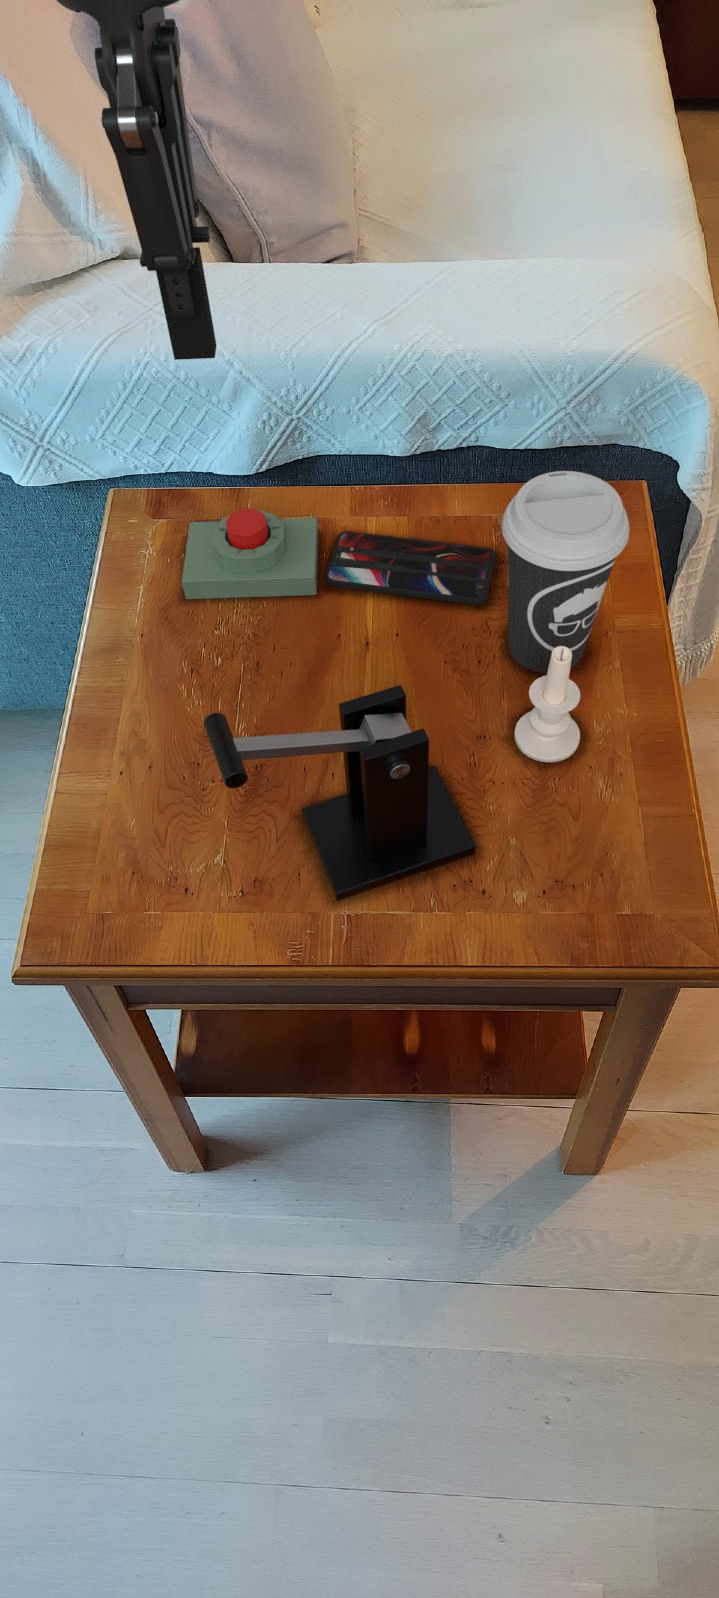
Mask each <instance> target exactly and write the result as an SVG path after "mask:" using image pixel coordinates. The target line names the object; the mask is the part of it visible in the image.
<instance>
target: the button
mask: <svg viewBox="0 0 719 1598" xmlns="http://www.w3.org/2000/svg"><path fill="white" fill-rule="evenodd" d="M258 510H259V509H255V508H241V509H238V510H236V511H234V512H232V513H230V514H229V515H230V516H229V517H228V519H227V521H226V527H227V532H228V538H229V541H230V543H231V544H232V545H233V546H234V547H235V548H238V549H241V550H242V549H255V548H257V547H259V546H262V545H263V544H264V543H265V542H266V541H267V539H268V528H267V522H266V517H265V516H264V514H263V513H262V512H260V511H258Z"/></svg>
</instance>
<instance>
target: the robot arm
mask: <svg viewBox="0 0 719 1598" xmlns="http://www.w3.org/2000/svg"><path fill="white" fill-rule="evenodd" d="M179 1H180V0H56V2H58V4H60V5H61V6H62V7H64V8H65V9H68V10H69V11H73V12H74V13H77V14H78V13H84V14H86V15H88V16H90V17H91V18H93V19H94V20H95V21H96V22H97V24H98V27H99V38H100V44H101V46H100V47H95V48H94V61H95V66H96V71H97V75H98V80H99V84H100V86H101V88H102V89H103V90H104V92H105V93H106V96H107V100H108V104H109V107H103V108H102V111H101V125H102V128H103V129H104V132H105V135H106V137H107V140H108V143H109V144H110V147H111V149H112V151H113V154H114V157H115V160H116V163H117V167H118V171H119V174H120V177H121V181H122V185H123V188H124V191H125V195H126V199H127V203H128V206H129V210H130V213H131V217H132V220H133V223H134V227H135V231H136V235H137V238H138V241H139V244H140V248H141V253H140V257H139V264H140V266H141V267H142V268H146V269H147V271H148V272H155V274H156V279H157V284H158V288H159V292H160V297H161V302H162V306H163V311H164V315H165V321H166V326H167V331H168V336H169V340H170V345H171V349H172V354H173V358H174V359H173V360H174V361H175V360H177V361H178V360H179V361H180V360H201V359H202V360H203V359H215V358H216V352H217V340H216V334H215V329H214V324H213V316H212V312H211V304H210V300H209V299H210V298H209V294H208V288H207V282H206V277H205V276H206V275H205V269H204V264H203V258H202V253H201V248H200V247H199V246H198V247H194V244H203V243H210V242H211V233H210V232H211V231H210V230H211V229H210V226H206V225H205V226H198V225H197V219H196V218H199V215H200V212H201V205H200V201H198V194H197V187H196V180H195V179H196V178H195V172H194V164H193V157H192V149H191V141H190V134H189V125H188V119H187V112H186V103H185V97H184V88H183V87H184V86H183V81H182V73H181V61H180V59H181V51H182V50H181V43H180V38H179V37H180V34H179V27H178V26H177V25H176V24H177V23H176V20H175V18H166V15H165V9H164V8H166V7H168V6H171V5H173V4H176V3H178V2H179Z"/></svg>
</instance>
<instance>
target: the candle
mask: <svg viewBox="0 0 719 1598" xmlns="http://www.w3.org/2000/svg"><path fill="white" fill-rule="evenodd" d="M571 660H572V652H571V651H570V649H569V648H567V647H565V646H558V647H556V648H555V649H554V650H553V651H552V654H551V659H550V663H549V667H548V672H547V673H546V675H542V676H541V677H538V678H536V679H535V680H534V681H533V682H532V683H531V685H530V687H529V690H528V697H529V700H530V702H531V703H532V705H533V706H534V707H533V708H532V710H530V711H528V712H526V713H525V714H523V715H522V716H521V717H519V719H518V721H517V722H516V724H515V727H514V732H513V733H514V741H515V743H516V746H517V748H518V749H519V750H520V752H521V753H522V754H524V755H525V756H526V757H528V758H531V759H532V760H534V761H537V762H542V763H557V762H562V761H563V760H566V759H567V758H570V757H571V756H572V755H573V754H574V753H575V752H576V751H577V750H578V747H579V744H580V739H581V730H580V728H579V726H578V724H577V722H576V721H575V720H574V719H573V717H571V715H570V713H569V712H570V711H573V710H574V709H575V708H576V707H577V706H578V705H579V703H580V700H581V691H580V688H579V686H578V685H577V684H576V683H575V681H573V680H571V678H570V673H571V668H572V667H571ZM570 667H571V668H570Z"/></svg>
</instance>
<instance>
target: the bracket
mask: <svg viewBox="0 0 719 1598" xmlns="http://www.w3.org/2000/svg"><path fill="white" fill-rule="evenodd" d="M338 710H339V720H340V730H354V729H359V728H360V725H361V723H362V720H363V718H364V716H365V715H375V714H391V713H402V714H403V716H404V718H405V720H406V721H407V694H406V692H405V690H404V688H403V686H402V684H398V685H395V686H391V687H389V688H385V689H382V690H379V691H376V692H372V693H369V694H366V695H363V696H360V697H356V698H353V699H350V700H347V701H343V702H340V703H338ZM342 753H343V765H344V772H345V773H344V775H345V784H346V785H345V786H346V787H345V788H346V793H344V794H342V795H339V796H335V797H333V798H330V799H326V800H323V801H321V802H317V803H313V804H311V805H308V806H305V807H302V808H301V813H302V814H301V815H302V818H303V819H302V820H303V821H304V823H305V824H304V825H305V826H306V828H307V831H308V834H309V836H310V838H311V841H312V843H313V846H314V849H315V851H316V853H317V856H318V858H319V861H320V863H321V867H322V868H323V871H324V873H325V875H326V878H327V881H328V883H329V886H330V888H331V890H332V893H333V896H334V899H335V900H336V902H340V901H342V900H345V899H347V898H350V897H353V896H357V895H359V894H362V893H366V892H367V891H371V890H374V889H377V888H380V887H383V886H386V885H389V884H392V883H394V882H397V881H400V880H404V879H406V878H409V877H412V876H414V875H418V874H420V873H424V872H426V871H427V872H428V871H429V870H432V869H435V868H439V867H441V866H444V865H447V864H450V863H453V862H456V861H459V860H461V859H465V858H467V857H471V856H473V855H475V854H476V848H477V847H476V844H475V842H474V839H473V838H472V836H471V834H470V831H469V829H468V828H467V826H466V824H465V822H464V820H463V818H462V816H461V814H460V812H459V811H458V808H457V807H456V805H455V802H454V800H453V799H452V797H451V795H450V793H449V791H448V789H447V787H446V785H445V783H444V781H443V778H442V777H441V775H440V772H439V771H438V769H437V768H436V765H431V766H430V765H429V764H430V763H429V761H430V738H429V736H428V735H427V732H426V731H425V729H424V728H421V729H418V730H413V731H411V733H407V734H404V735H401V736H398V737H395V738H392V739H388V740H385V741H382V742H379V743H376V744H373V745H369V746H366V747H363V748H360V751H352V752H342Z"/></svg>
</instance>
